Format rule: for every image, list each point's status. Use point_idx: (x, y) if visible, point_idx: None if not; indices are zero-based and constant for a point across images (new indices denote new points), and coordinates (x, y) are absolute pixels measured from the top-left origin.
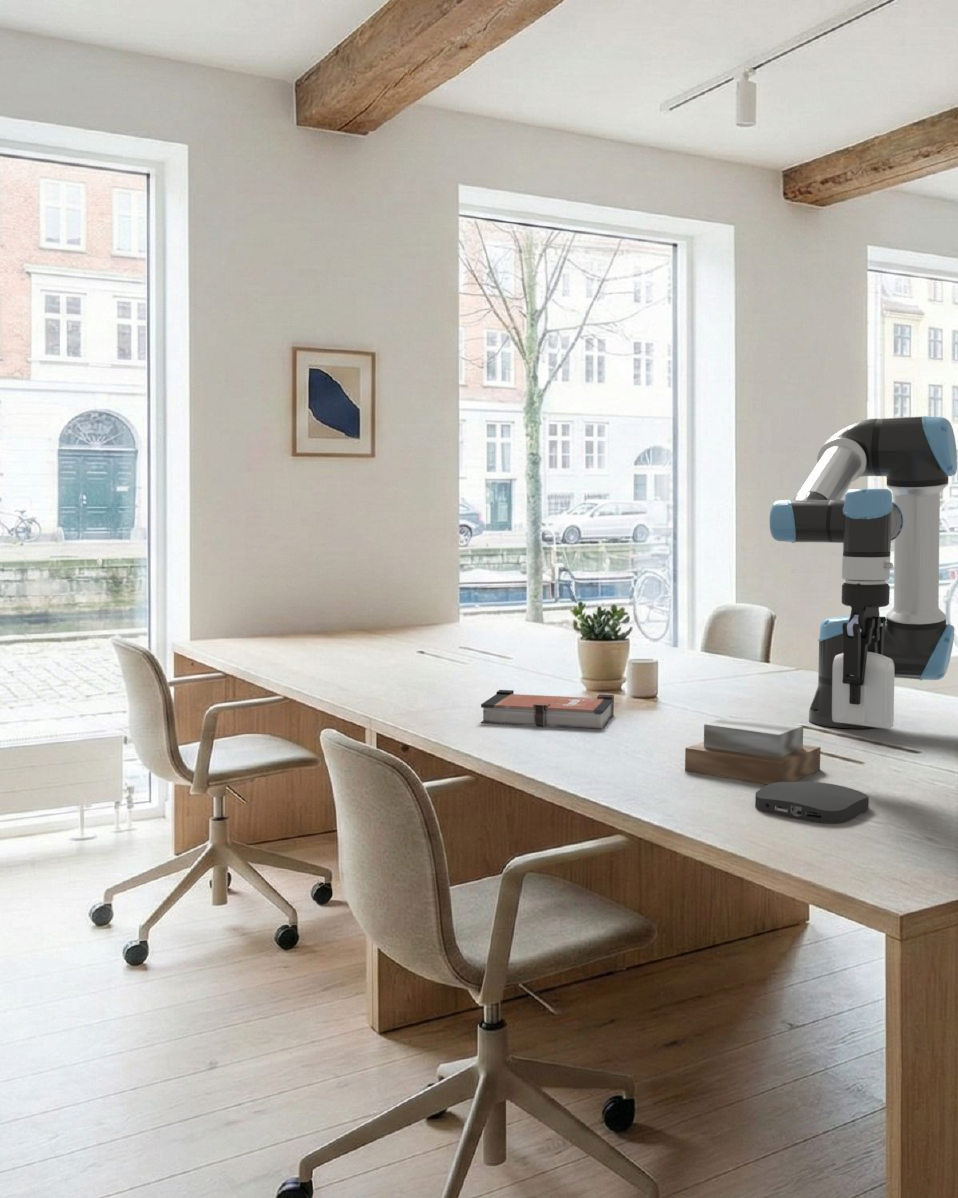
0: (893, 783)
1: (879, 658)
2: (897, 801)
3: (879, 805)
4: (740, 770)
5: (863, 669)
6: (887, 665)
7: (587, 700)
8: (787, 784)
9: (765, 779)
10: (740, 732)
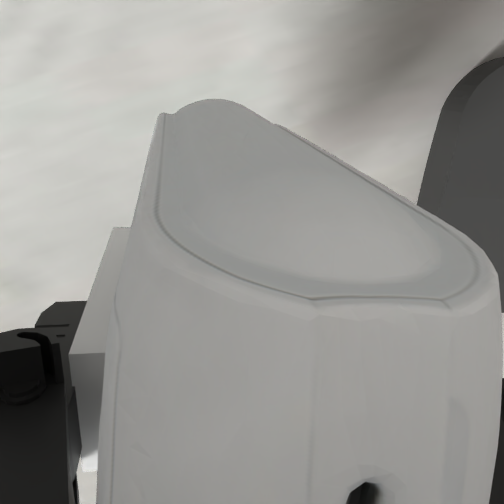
0: (136, 95)
1: (481, 476)
2: (363, 10)
3: (435, 45)
4: None
5: (497, 453)
6: (463, 265)
7: None
8: (500, 281)
9: None
10: None
